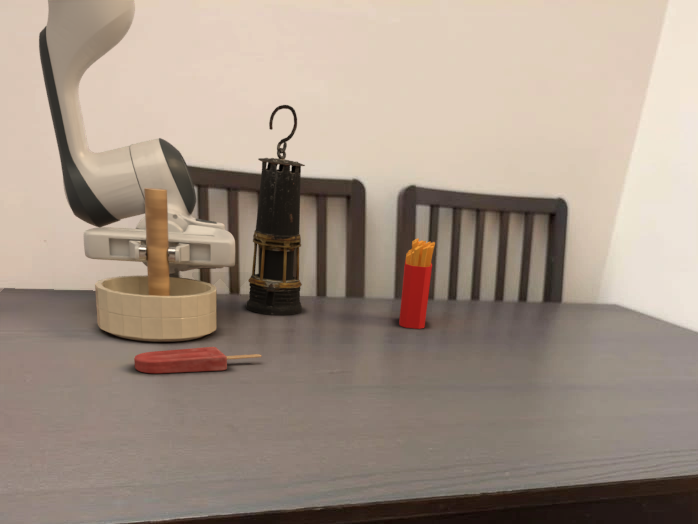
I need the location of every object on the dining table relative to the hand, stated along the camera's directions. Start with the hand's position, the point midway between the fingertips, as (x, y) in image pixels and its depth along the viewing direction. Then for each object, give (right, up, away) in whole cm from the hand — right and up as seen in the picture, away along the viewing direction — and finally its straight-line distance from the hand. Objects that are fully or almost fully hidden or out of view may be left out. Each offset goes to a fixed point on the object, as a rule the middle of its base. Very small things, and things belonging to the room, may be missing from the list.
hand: (157, 254), depth 95 cm
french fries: (+35, -4, +22) cm, 42 cm away
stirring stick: (-1, -8, +5) cm, 9 cm away
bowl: (-1, -9, +5) cm, 10 cm away
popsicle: (+8, -16, -9) cm, 20 cm away
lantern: (+12, -2, +24) cm, 27 cm away
